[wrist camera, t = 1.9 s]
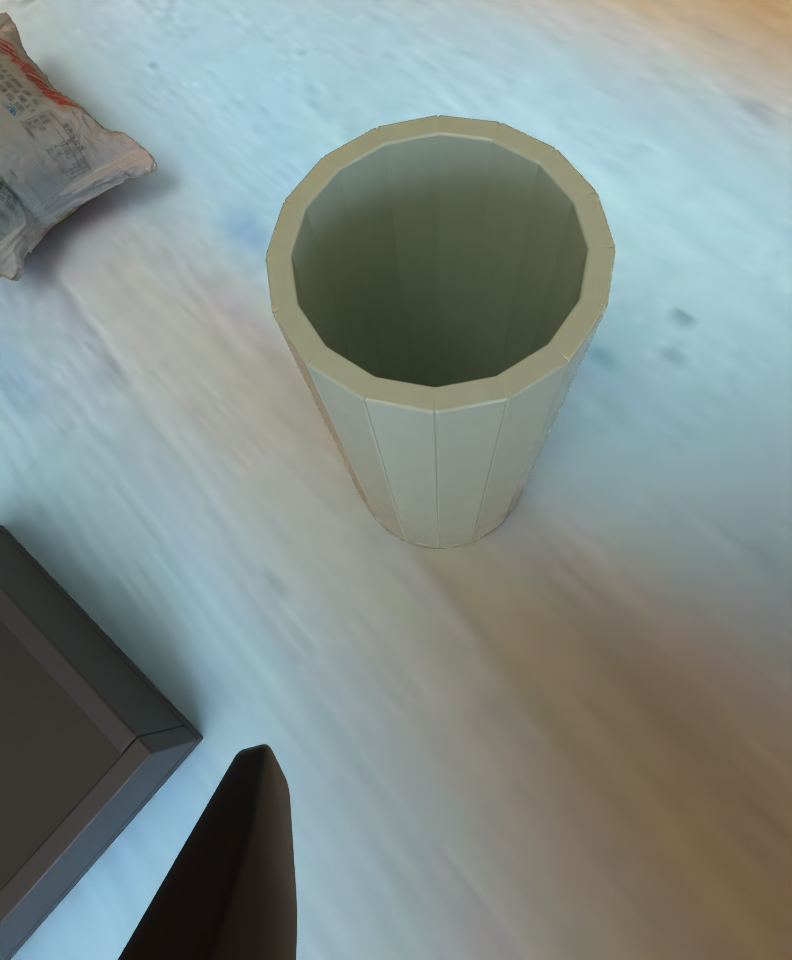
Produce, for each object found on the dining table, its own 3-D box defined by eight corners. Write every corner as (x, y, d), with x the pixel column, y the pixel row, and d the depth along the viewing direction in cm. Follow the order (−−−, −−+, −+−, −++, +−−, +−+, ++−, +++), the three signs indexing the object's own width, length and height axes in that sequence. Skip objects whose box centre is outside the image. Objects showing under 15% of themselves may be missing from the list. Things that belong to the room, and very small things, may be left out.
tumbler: (506, 565, 22) (587, 441, 10) (340, 529, 23) (224, 374, 11) (535, 407, 24) (633, 136, 12) (378, 380, 25) (316, 98, 13)
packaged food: (44, 66, 32) (-27, -38, 27) (177, 196, 28) (123, 104, 24) (-98, 167, 30) (-198, 77, 26) (25, 314, 27) (-63, 242, 23)
